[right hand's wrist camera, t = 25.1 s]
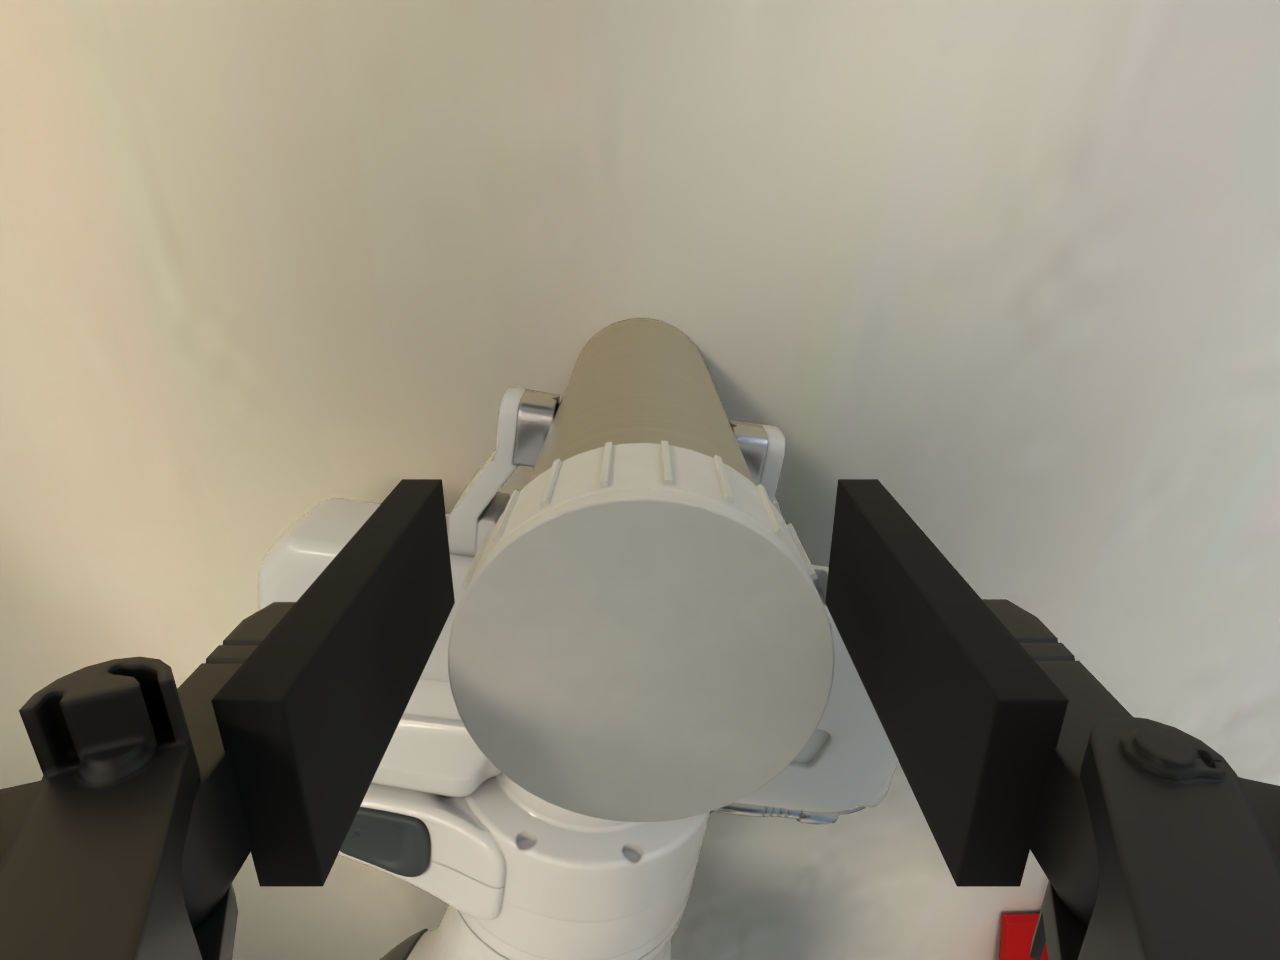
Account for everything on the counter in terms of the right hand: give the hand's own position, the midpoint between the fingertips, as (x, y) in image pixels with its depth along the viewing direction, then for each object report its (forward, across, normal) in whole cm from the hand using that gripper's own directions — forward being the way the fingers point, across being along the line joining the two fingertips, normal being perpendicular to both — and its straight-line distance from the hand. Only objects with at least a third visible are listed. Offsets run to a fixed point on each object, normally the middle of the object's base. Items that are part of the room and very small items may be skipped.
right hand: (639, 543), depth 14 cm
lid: (-4, 0, 0) cm, 4 cm away
